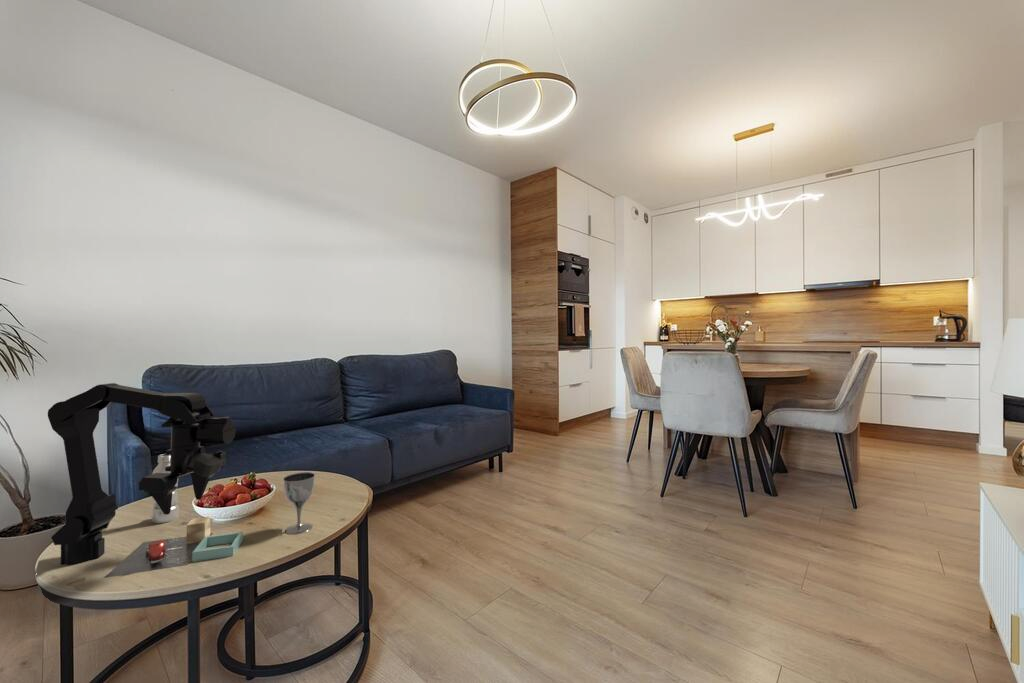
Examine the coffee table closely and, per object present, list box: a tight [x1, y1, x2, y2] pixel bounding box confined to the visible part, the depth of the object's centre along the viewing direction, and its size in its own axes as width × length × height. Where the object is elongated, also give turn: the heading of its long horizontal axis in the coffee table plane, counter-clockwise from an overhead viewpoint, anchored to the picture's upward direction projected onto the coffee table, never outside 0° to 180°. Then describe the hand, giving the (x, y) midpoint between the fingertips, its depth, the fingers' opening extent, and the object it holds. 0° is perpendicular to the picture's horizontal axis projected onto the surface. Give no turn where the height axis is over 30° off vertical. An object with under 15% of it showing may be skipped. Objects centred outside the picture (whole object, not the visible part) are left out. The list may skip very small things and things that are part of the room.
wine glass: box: [282, 471, 315, 535], centre depth 116 cm, size 8×8×15 cm
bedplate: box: [104, 532, 214, 578], centre depth 101 cm, size 15×17×1 cm
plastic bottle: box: [150, 453, 180, 525], centre depth 120 cm, size 6×7×20 cm
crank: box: [146, 539, 165, 564], centre depth 99 cm, size 11×3×5 cm, turn 45°
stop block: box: [185, 516, 211, 544], centre depth 108 cm, size 4×4×5 cm
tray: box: [191, 531, 244, 563], centre depth 103 cm, size 8×8×3 cm
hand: (183, 506), depth 101 cm, fingers open, 9 cm apart
